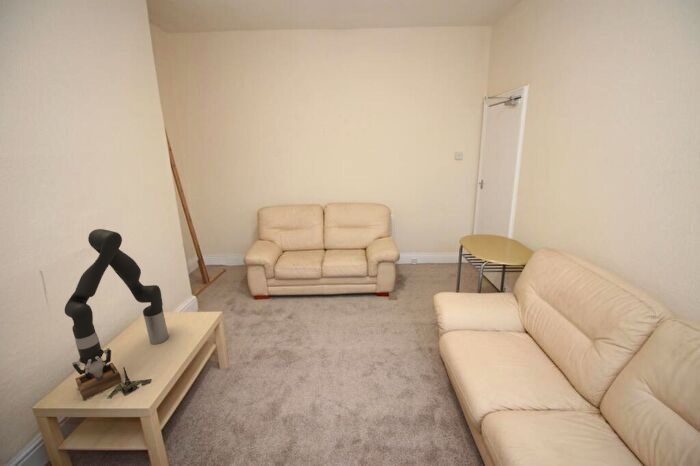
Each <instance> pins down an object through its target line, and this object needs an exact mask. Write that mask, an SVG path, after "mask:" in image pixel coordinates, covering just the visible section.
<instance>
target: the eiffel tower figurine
mask: <svg viewBox="0 0 700 466" xmlns="http://www.w3.org/2000/svg"><path fill="white" fill-rule="evenodd" d="M122 369H123V372H124V381H122V382H121V383H119V384H117V385H116V387H115V388H114V389H113V390H112V391H111V393H110V394H108V396H107V397H106V399H108V400H109V399H112V398H113V397H114V396H116V395H117V394H119V393H121V394H122V395H123V396H124V397H126V396H128V395H130V394H132V393H133V392H136V391H137V390H139V389H140V387H139V385H141V387H144V386H147V385H149V384H151V383H152V381H153V378H149V379H139V380H130V379H131V378H129V376H128V373H127V371H126V367H125V366H124V365H123V368H122Z"/></svg>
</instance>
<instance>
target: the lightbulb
mask: <svg viewBox="0 0 700 466" xmlns="http://www.w3.org/2000/svg"><path fill="white" fill-rule="evenodd" d="M103 366H104V364H103V362H99V361H95V362H93V363H91V364H90V368H88V371H89V372H90V373H91V374H93V375H94V377H95V378H96V380H97V381H100V380H102V379H103V372H102V370H103Z"/></svg>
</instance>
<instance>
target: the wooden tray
mask: <svg viewBox="0 0 700 466" xmlns="http://www.w3.org/2000/svg"><path fill="white" fill-rule="evenodd" d="M106 365H107V369H108V370H107V371H106V373H104V371H103V370H102V372H103V379H102V380H100V381H97V380H96V378H95V377H94V375H93V374H91V373H90V375H91V379H90V380H89V379H87V378H86V375H85V374H82V375H81V376H78V377H75V383H76V386H77V389H78V391H79V392H80V395H81V397H82V399H83V401H86V400H88V399H90V398H92V397H94V396H96V395H98V394H100V393H102V392H104V391H106V390H108V389H110V388H113V387H114V386H118V385H119V384H120V383H123V381H122V376H121V374H120V372H119V369H118V368H117V367H116V365H115V364H114V363H113V362H109V363H107V364H106Z"/></svg>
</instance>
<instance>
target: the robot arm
mask: <svg viewBox="0 0 700 466" xmlns="http://www.w3.org/2000/svg"><path fill="white" fill-rule="evenodd" d="M87 238H88V239H87V240H88V244H89V245H90V246H91V248H92V249H94V250H95V251H96V252H97V253H98V254H99V255H98V257H97V258H96V259H95V261H94V262H93V263H92V264H91V265H90V266H89V267H88V268H87V269H86V270H85V271H84V272H83V273H82V275H81V276H80V278H79V281H78V282H77V285H76V288H75V291H74V292H73V293H72V295H71V296H70V297H69V299H67V302H66V304H65V307H64V314H65V315H66V316H67V317H69V318H71V320H72V322H73V325H72V333H73V337H74V340H75V346H76V349H77V351H78V356H79V360H77V361H75V362H72V366H73V368H74V369H75V371H76V372H77V373H78V374H79V375H81V376H82V375H86V378H87V379H89V380H90V379H91V375H90V372H89V371H88V368H90V364H91V363H93V362H95V361H99V362H103V364H104V366H103V371H104V373H106V371H107V370H108V369H107V364H109V363H111V360H112V350H111V349H110V347H107V348H106V349H102V347H101V343H100V339H99V336H98V334H97V332H96V329H95V325H94V320H93V319H94V316H93V313H94V312H93V311H92V308H91V306H90V305H89V304H87V303H88V301H89V299H90V298H93V297H94V296H95V295H96V293H97V290H98V288H99V285H100V283H101V280H102V278H103V276H104V274H105V273H106V271H107V269H108V267H109V266H110V267H111V268H112V270H113V271H114V273H115V274H116V275H117V276H118V277H119V279H121V280H122V281H123V283H124V285H126V286H127V288H128V289H129V291H130V293H131V294H132V296H133V298H134V300H135V301H137V302H138V303H141V304H142V303H143V304H144V303H146V304H147V303H149V304H150V305H148V306H146V307H145V308H144V309H143V310H142V314H143V317H144V322H145V326H146V330H147V335H148V340H149V343H150V344H151V345H158V344H162V343H164V342H165V341H167V340H168V339H169V333H168V332H169V331H168V327H167V323H166V318H165V313H164V308H163V298H162V290H161V288H160V286H159V285H156V284H153V285H144V284H142V283H141V281H140V277H141V275H142V271H141V267H140V266H139V265H138V263H137V262H136V261H135V260H134V259H133V258H132V257H131V256H130V255H128V254H126V252H124V251H122V250H121V249H120V247H121V245H122V242H123V237H122V235H121V234H120V233H119V232H117V231H112V230H108V229H104V228H96V229H94V230H92V231H91V232H90V233H89V234H88V237H87ZM103 355H105V359H103V358H102V357H103ZM81 364H84V369H82V368H81V367H80V366H81Z"/></svg>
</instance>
